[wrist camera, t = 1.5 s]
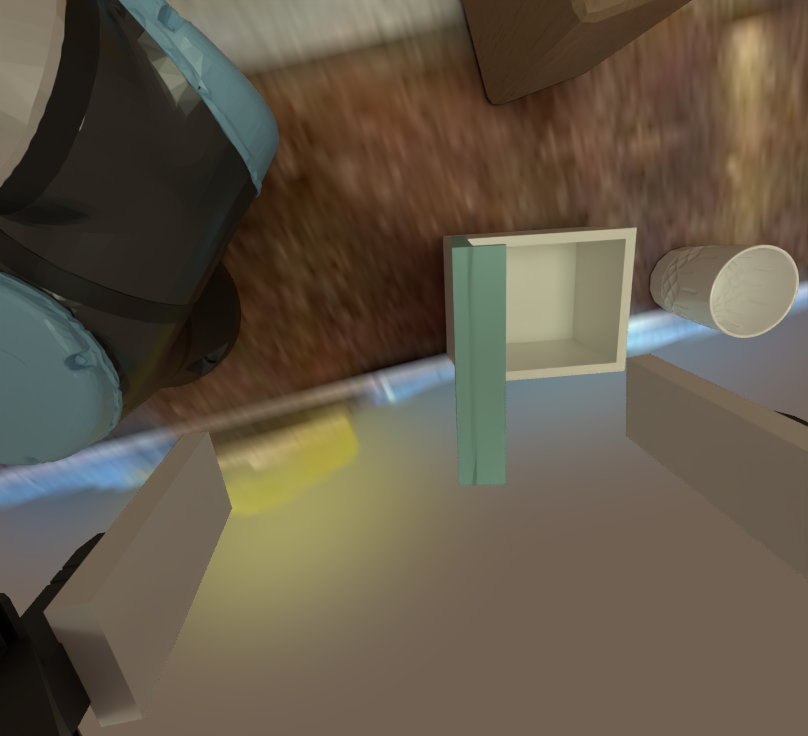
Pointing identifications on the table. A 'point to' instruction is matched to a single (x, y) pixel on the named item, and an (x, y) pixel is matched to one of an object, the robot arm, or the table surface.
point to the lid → (480, 360)
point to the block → (552, 38)
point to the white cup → (727, 286)
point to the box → (560, 299)
